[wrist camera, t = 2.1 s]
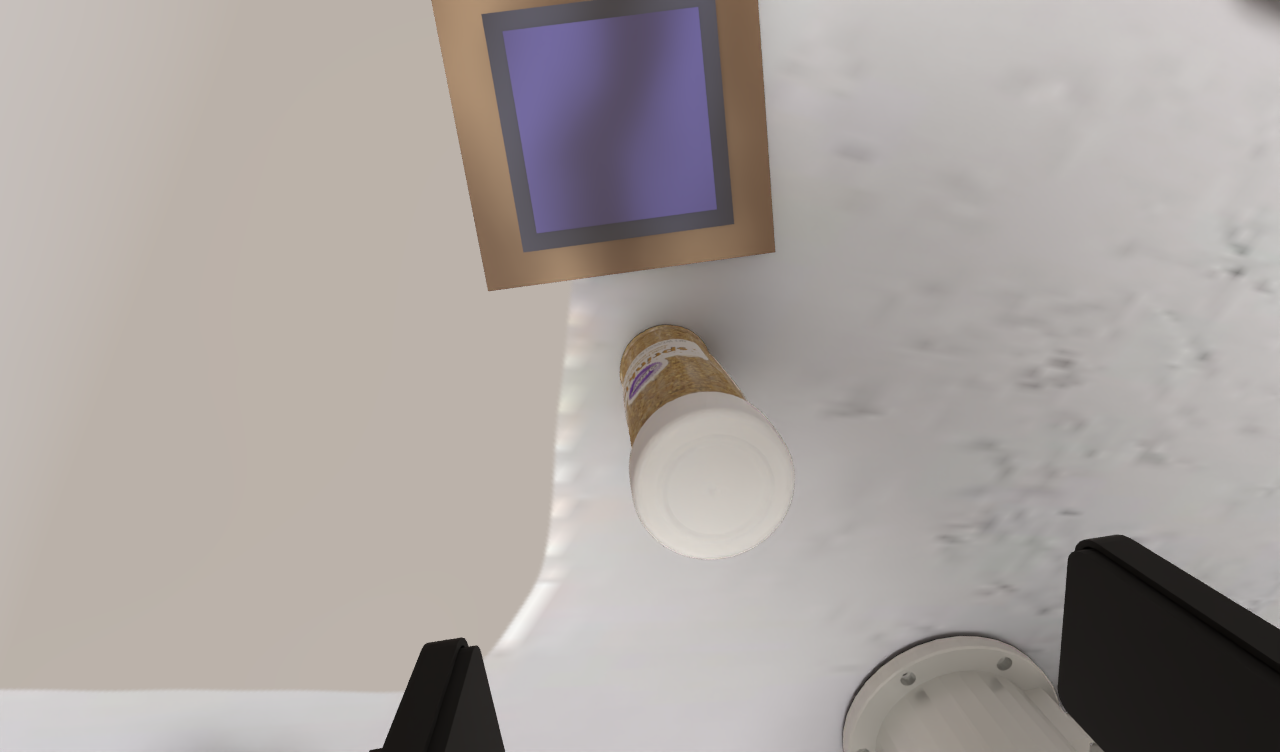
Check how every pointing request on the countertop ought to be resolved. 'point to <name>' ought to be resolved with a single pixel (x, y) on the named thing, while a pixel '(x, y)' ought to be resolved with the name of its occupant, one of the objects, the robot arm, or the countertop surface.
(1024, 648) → the countertop surface
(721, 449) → the sprinkles bottle
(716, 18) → the stamp board
